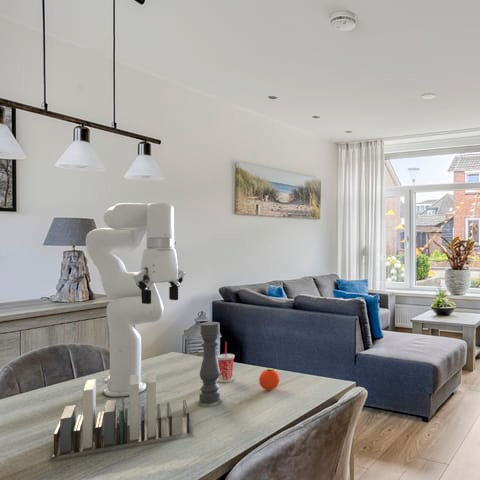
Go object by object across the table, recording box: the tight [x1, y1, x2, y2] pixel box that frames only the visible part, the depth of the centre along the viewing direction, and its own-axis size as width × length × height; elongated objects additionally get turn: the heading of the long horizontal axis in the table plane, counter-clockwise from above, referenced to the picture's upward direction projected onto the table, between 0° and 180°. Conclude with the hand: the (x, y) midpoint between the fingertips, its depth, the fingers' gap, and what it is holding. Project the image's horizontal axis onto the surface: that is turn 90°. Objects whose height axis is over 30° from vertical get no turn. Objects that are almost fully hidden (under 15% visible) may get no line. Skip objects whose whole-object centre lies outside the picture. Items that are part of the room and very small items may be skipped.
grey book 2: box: [104, 399, 117, 445], centre depth 114 cm, size 2×9×8 cm, turn 26°
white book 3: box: [146, 372, 157, 438], centre depth 119 cm, size 2×9×14 cm, turn 26°
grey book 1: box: [59, 404, 77, 453], centre depth 110 cm, size 2×9×8 cm, turn 26°
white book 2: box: [129, 374, 140, 441], centre depth 117 cm, size 2×9×14 cm, turn 26°
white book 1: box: [82, 378, 97, 449], centre depth 112 cm, size 2×9×14 cm, turn 26°
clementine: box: [258, 367, 281, 391], centre depth 155 cm, size 8×7×7 cm
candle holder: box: [198, 321, 221, 404], centre depth 141 cm, size 6×6×25 cm
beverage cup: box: [216, 341, 236, 383], centre depth 164 cm, size 6×6×14 cm
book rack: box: [52, 396, 191, 458], centre depth 116 cm, size 30×12×9 cm, turn 116°
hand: (160, 301), depth 135 cm, fingers open, 9 cm apart
